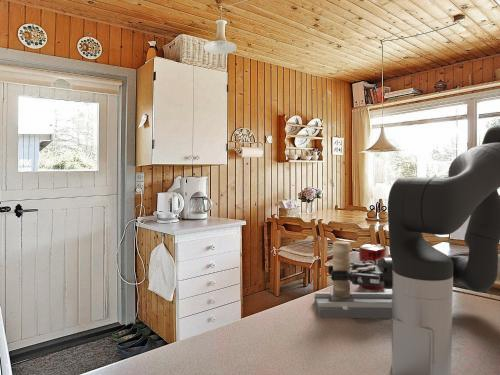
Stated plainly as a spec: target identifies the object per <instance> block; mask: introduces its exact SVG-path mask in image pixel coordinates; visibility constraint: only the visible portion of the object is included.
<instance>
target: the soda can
mask: <svg viewBox="0 0 500 375" xmlns="http://www.w3.org/2000/svg"><path fill="white" fill-rule="evenodd" d="M359 246H360V247H359V248H358V261H366V263H372V265H378V263H379V260H380V258H382V257H387V255H386V254H387V250H386V248H385V247H384V246H382V245H378V244H362V245H359ZM358 287H359V288H361V290H363V291H366V292H370V293H380V292H382V291H384V290H385V289H384V288H382V287H381V285H380V282H379V287H374V286H364V285H358Z"/></svg>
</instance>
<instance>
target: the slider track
mask: <svg viewBox="0 0 500 375" xmlns="http://www.w3.org/2000/svg"><path fill="white" fill-rule="evenodd" d="M330 292H331V291H328V292H325V291H324V292H321V291H320V292H314V304H315V307H316V310H317V314H318V317H319V318H321V319H326V318H328V319H331V318H332V319H389V320H390V319H391V320H392V292H350V293H351V295H352V296H353V298H354V302H332V301H331V298H330Z"/></svg>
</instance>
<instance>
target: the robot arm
mask: <svg viewBox="0 0 500 375" xmlns="http://www.w3.org/2000/svg"><path fill="white" fill-rule="evenodd" d="M447 173H448V177H423V176H422V177H419V176H416V177H415V176H410V177H409V176H408V177H407V176H406V177H400V178H398V179H396V180H395V181H394V182H393V184H392V185H391V187H390V189H389V193H388V198H387V225H388V245H389V246H388V248H389V250H388V251H389V254H390V256H389V257H388V256H386V257H382V258H380V260H379V263H378V265H372V263H366V261H359V260H357V261H350V270H349V271H348V273H347V271H333V264H332V265H328V267H327V271H328V272H327V273H328V275H330V279H331V280H332V282H333V281H347V280H348V282H350V283H352V285H354V286H356V285H357V286H359V285H364V286H374V287H379V282H380V285H381V287H382V288H384V290H391V293H392V319H391V369H392V370H391V374H392V375H452V362H453V361H452V358H453V357H452V356H453V355H452V353H453V352H452V351H453V350H452V349H453V348H452V347H453V346H452V344H453V300H454V298H453V295H454V284H460V285H461V286H463V287H465V288H467V289H469V291H470V290H471V291H472V292H476V293H484V292H487V291H489V290H490V289H492V287H493V286H494V284H495V282H496V280H497V278H498V274H499V273H498V271H499V251H498V250H499V245H500V194H499V192H498V191H499V190H498V189H499V188H500V124H494V125H491V126H490V127H489V128H488V129H487V131H486V132H485V134H484V137H483V140H482V144H479V145H476V146H473V147H471V148H469V149H467V150H465V151H464V152H461V153H460V154H459V155H458V156H456V157H455V158H454V159H453V161H451V163H450V165H449V168H448V172H447ZM467 221H468V223H467V227H466V230H465V234H464V244H465V245H466V247H468V256H467V255H452V256H449V255H447V254H446V253H444V252H442V251H440V250H438V249H437V248H435V247H434V246H432V245H431V244H430V243H428V241H427V240H426V239H425V238H424V236H423V234H429V235H436V236H437V235H438V236H444V235H445V236H447V235H451V234H453V233H455V232H457V231H458V230H459V229H460V228H461V227H463V225H464V224H465V223H466V222H467Z"/></svg>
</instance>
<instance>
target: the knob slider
mask: <svg viewBox="0 0 500 375" xmlns="http://www.w3.org/2000/svg"><path fill="white" fill-rule="evenodd" d="M350 262H351V242H349V241H343V240H341V241H340V240H338V241H337V240H335V241H333V242H332V265H333V271H347V273H348V271H349V270H350V269H351V268H350ZM332 283H333V284H332V285H333V286H332V291H329V292H330V298H331V301H332V302H354V298H353V296H352V295H351V293H352V292H351V282H348V280H347V281H333V280H332Z"/></svg>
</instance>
